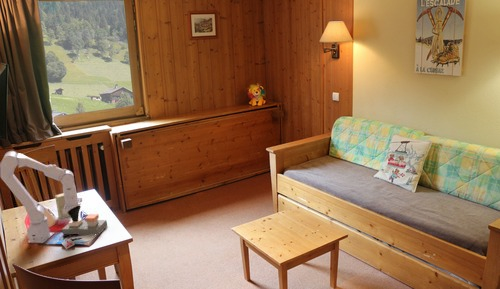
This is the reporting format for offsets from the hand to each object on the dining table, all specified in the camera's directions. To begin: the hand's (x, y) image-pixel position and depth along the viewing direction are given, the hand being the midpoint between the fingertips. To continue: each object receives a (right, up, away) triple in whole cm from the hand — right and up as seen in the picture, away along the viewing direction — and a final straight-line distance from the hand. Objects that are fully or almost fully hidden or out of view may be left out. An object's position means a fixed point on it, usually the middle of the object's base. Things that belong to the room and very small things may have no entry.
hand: (75, 221), depth 210 cm
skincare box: (-13, -1, +19) cm, 23 cm away
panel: (+5, -5, +1) cm, 7 cm away
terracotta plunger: (+9, -2, -1) cm, 9 cm away
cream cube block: (0, -4, +1) cm, 5 cm away
